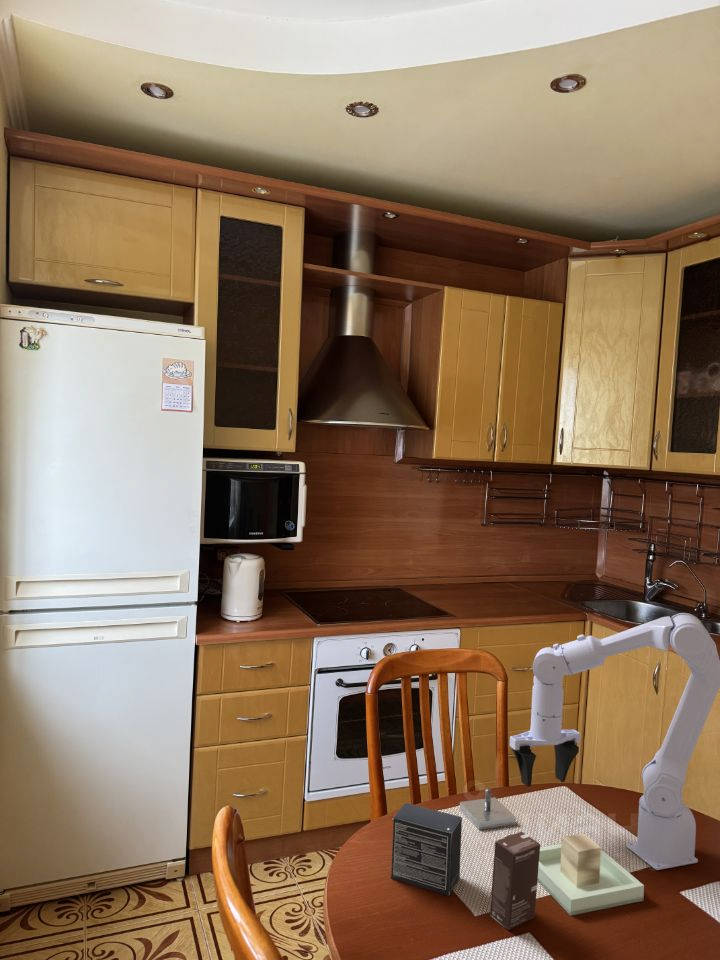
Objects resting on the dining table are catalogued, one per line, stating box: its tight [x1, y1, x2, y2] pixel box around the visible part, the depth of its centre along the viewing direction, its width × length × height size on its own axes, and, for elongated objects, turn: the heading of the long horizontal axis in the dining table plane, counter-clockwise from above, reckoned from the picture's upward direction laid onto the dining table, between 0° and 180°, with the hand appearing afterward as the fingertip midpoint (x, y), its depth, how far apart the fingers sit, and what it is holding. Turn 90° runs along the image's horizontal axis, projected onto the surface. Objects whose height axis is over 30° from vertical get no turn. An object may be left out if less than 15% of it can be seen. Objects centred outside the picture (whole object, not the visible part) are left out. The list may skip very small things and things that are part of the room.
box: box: [489, 831, 541, 931], centre depth 106 cm, size 6×4×12 cm
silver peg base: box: [459, 787, 517, 831], centre depth 136 cm, size 8×8×6 cm
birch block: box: [560, 833, 602, 887], centre depth 116 cm, size 4×4×6 cm
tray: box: [537, 843, 645, 916], centre depth 116 cm, size 14×14×2 cm
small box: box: [390, 802, 463, 897], centre depth 115 cm, size 11×6×10 cm, turn 65°
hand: (543, 781), depth 131 cm, fingers open, 7 cm apart
